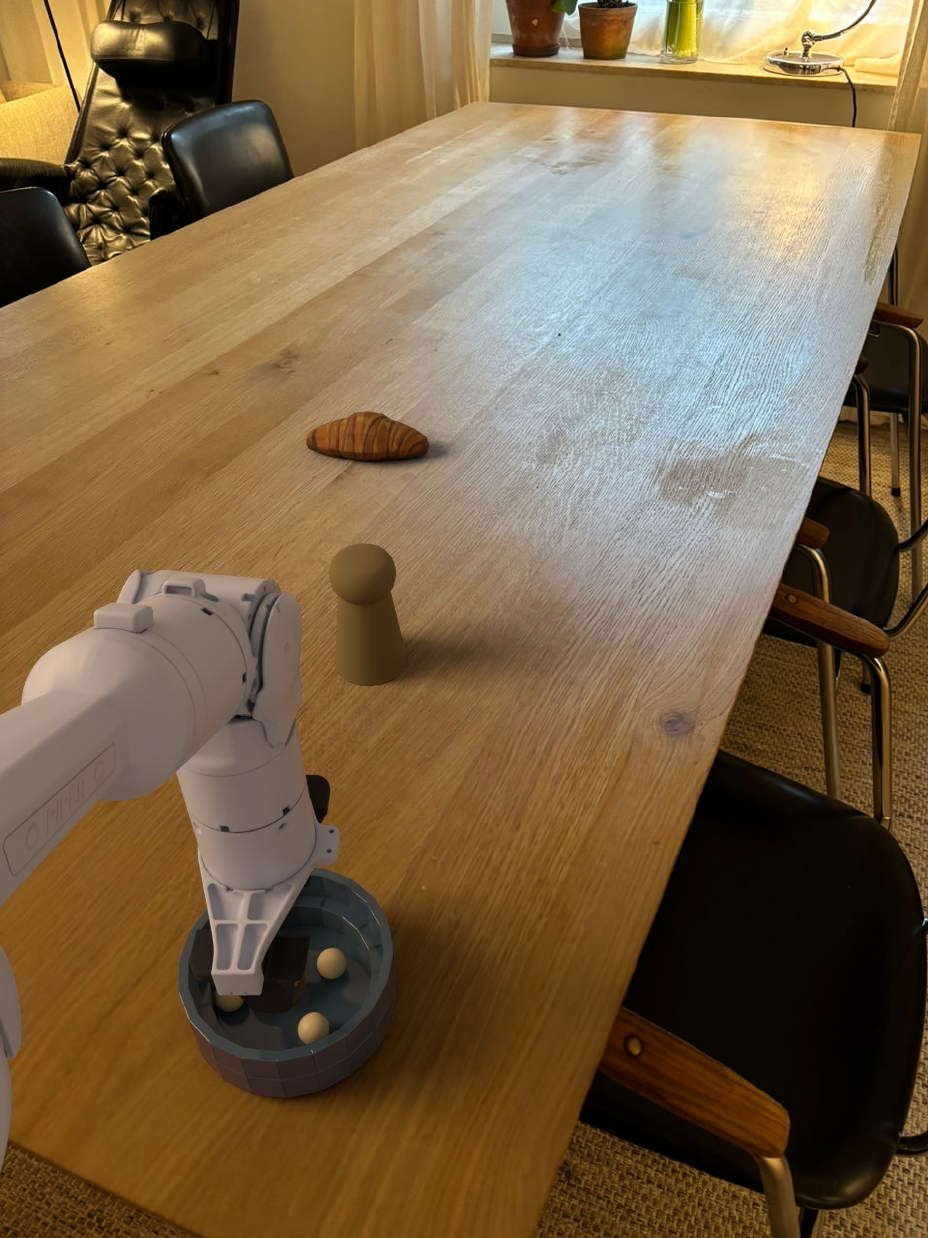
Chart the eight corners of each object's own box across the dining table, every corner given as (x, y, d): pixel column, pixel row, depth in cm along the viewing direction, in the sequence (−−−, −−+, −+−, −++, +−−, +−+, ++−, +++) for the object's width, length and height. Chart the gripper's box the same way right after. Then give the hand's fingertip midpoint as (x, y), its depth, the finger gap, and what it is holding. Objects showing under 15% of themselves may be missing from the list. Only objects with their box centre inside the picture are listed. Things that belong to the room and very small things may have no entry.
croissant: (300, 467, 106) (294, 425, 103) (313, 434, 111) (308, 394, 108) (425, 473, 105) (423, 431, 102) (433, 440, 110) (431, 399, 107)
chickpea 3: (315, 976, 61) (328, 989, 60) (309, 951, 60) (323, 964, 59) (340, 963, 62) (354, 975, 60) (335, 938, 61) (349, 950, 60)
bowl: (235, 1144, 54) (219, 1104, 51) (168, 966, 62) (151, 921, 59) (432, 1035, 59) (429, 992, 55) (346, 882, 67) (339, 837, 63)
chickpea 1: (233, 1020, 59) (211, 1016, 58) (227, 993, 60) (205, 988, 59) (254, 1003, 59) (232, 998, 58) (248, 976, 60) (225, 971, 59)
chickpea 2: (307, 1057, 57) (303, 1042, 56) (295, 1031, 58) (291, 1016, 57) (335, 1042, 58) (332, 1027, 56) (323, 1016, 59) (320, 1001, 58)
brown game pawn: (421, 652, 84) (415, 547, 77) (379, 695, 80) (369, 589, 73) (363, 627, 86) (353, 523, 79) (320, 668, 82) (305, 563, 75)
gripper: (310, 919, 42) (340, 1068, 50) (344, 677, 53) (364, 835, 61) (143, 919, 42) (202, 1068, 51) (211, 678, 53) (250, 835, 62)
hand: (282, 940), depth 56 cm, fingers open, 7 cm apart
